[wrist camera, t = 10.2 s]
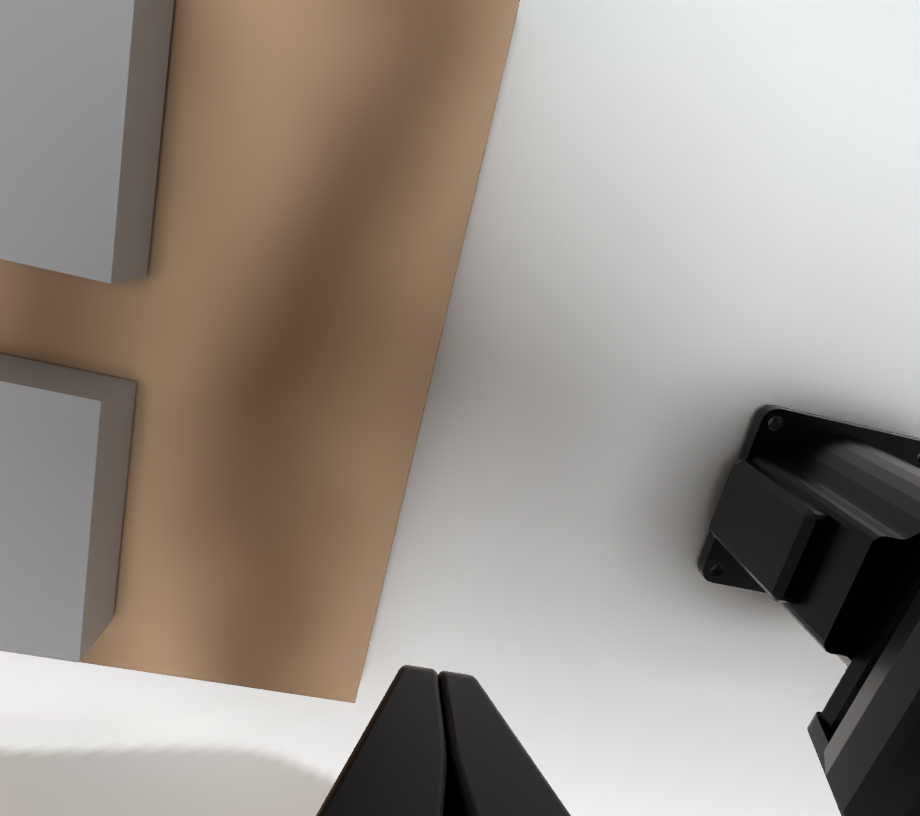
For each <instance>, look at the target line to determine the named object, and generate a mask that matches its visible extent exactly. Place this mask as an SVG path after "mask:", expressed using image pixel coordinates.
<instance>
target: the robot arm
mask: <svg viewBox="0 0 920 816" xmlns="http://www.w3.org/2000/svg"><path fill="white" fill-rule="evenodd" d="M774 416H776V417H777V418H776V422H775V423H774V425H772V426H770V427H768V422H769V420H770V419H771V418H772V417H774ZM919 453H920V439H918V438H914V437H909V436H905V435H901V434H896V433H892V432H888V431H883V430H879V429H875V428H870V427H866V426H862V425H857V424H853V423H849V422H844V421H840V420H836V419H831V418H827V417H823V416H818V415H814V414H810V413H805V412H801V411H797V410H792V409H788V408H784V407H779V406H775V405H768V406H765V407H763V408H762V409H760V410H759V411H758V413H757V414H756V416H755V418H754V421H753V423H752V426H751V428H750V431H749V434H748V436H747V439H746V441H745V444H744V446H743V449H742V451H741V454H740V457H739V459H738V462H737V463H736V464H734V466H733V468H732V471H731V473H730V476H729V478H728V481H727V483H726V486H725V488H724V491H723V494H722V496H721V499H720V501H719V504H718V506H717V509H716V512H715V514H714V517H713V519H712V522H711V524H710V530H711V531H710V533H709V536H708V538H707V541H706V543H705V546H704V549H703V551H702V554H701V556H700V559H699V561H698V569H699V572H700V573H701V574H702V575H703V577H704V578H705V579H706V580H707V581H710V582H712V583H718V584H723V585H728V586H734V587H739V588H744V589H750V590H755V591H760V592H765V593H768V594H769V595H770V597H771V598H772V599H773V600H775V601H778V602H780V603H781V604H782V605H783V606H784V607H785V608H786V610H787V611H788V612H789V613H790V614H791V615H792V616H793V617H794V618H795V619H796V620H797V621H798V622H799V623H800V624H801V625H802V626H803V627H804V628H805V630H806V631H807V632H808V633H809V634H810V635H811V636H812V637H813V638H814V639H815V640H816V641H817V642H818V643H819V644H820V645H821V646H822V647H823V649H824V650H825V651H827V652H829V653H831V654H836V655H837V656H838V657H839V658H840V659H841V660H842V661H843V662H844V663H845V664H846V665H847V666H848V668H847V670H846V671H845V673H844V675H843V676H842V678H841V680H840V682H839V683H838V685H837V687H836V689H835V690H834V692H833V694H832V695H831V697H830V699H829V701H828V702H827V704H826V706H825V708H824V709H823V711H822V712H817V713H816V714H815V716H814V717H813V719H812V721H811V723H810V724H809V726H808V732H809V735H810V737H811V740H812V742H813V745H814V747H815V750H816V752H817V755H818V757H819V760H820V763H821V765H822V768H823V770H824V773H825V775H826V778H827V780H828V783H829V785H830V788H831V790H832V793H833V795H834V798H835V800H836V803H837V805H838V808H839V810H840V813H841V815H842V816H920V457H919V458H917V455H918V454H919ZM714 564H718V566H717V568H716V569H714V570H710V568H711V566H712V565H714ZM316 816H571V815H570V814H569V813H568V811H567V810H566V808H565V807H564V805H563V804H562V802H561V801H560V799H559V798H558V797H557V795H556V794H555V792H554V791H553V789H552V788H551V786H550V785H549V784H548V782H547V781H546V779H545V778H544V776H543V775H542V773H541V772H540V771H539V769H538V768H537V766H536V765H535V763H534V762H533V760H532V759H531V757H530V756H529V755H528V753H527V752H526V750H525V749H524V747H523V746H522V744H521V743H520V742H519V740H518V739H517V737H516V736H515V734H514V733H513V731H512V730H511V729H510V727H509V726H508V724H507V723H506V721H505V720H504V718H503V717H502V716H501V714H500V713H499V711H498V710H497V708H496V707H495V705H494V704H493V702H492V701H491V700H490V698H489V697H488V695H487V694H486V692H485V691H484V689H483V688H482V687H481V685H480V684H479V682H478V681H477V680H476V679H475V678H474V677H473V676H471V675H467V674H461V673H454V672H448V671H442V672H440V673H439V674H438V675H437V673H436V672H435V671H434V670H433V669H429V668H423V667H416V666H410V665H405V666H402V667H401V668H400V669H399V671H398V673H397V675H396V676H395V678H394V680H393V682H392V683H391V685H390V687H389V689H388V690H387V692H386V694H385V696H384V697H383V699H382V701H381V703H380V704H379V706H378V708H377V710H376V711H375V713H374V715H373V717H372V718H371V720H370V722H369V724H368V726H367V727H366V729H365V731H364V733H363V734H362V736H361V738H360V740H359V741H358V743H357V745H356V747H355V748H354V750H353V752H352V754H351V755H350V757H349V759H348V761H347V762H346V764H345V766H344V768H343V769H342V771H341V773H340V775H339V776H338V778H337V780H336V782H335V783H334V785H333V787H332V789H331V790H330V792H329V794H328V796H327V797H326V799H325V801H324V803H323V804H322V806H321V808H320V810H319V812H318V813H317V815H316Z"/></svg>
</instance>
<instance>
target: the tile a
mask: <svg viewBox="0 0 920 816" xmlns="http://www.w3.org/2000/svg"><path fill="white" fill-rule="evenodd" d="M135 390H136V382H135V381H130V380H126V379H121V378H116V377H111V376H106V375H101V374H96V373H92V372H87V371H82V370H77V369H72V368H67V367H63V366H58V365H53V364H48V363H43V362H38V361H33V360H29V359H24V358H19V357H14V356H9V355H4V354H0V651H6V652H12V653H19V654H26V655H33V656H39V657H46V658H53V659H59V660H66V661H73V662H80V661H81V659H82V658H83V657H84V656H85V654H86V653H87V652H88V650H89V649H90V648H91V647H92V645H93V644H94V643H95V641H96V640H97V639H98V638H99V636H100V635H101V634H102V633H103V631H104V630H105V629H106V627H107V626H108V625H109V624H110V622H111V621H112V620H113V612H114V602H115V592H116V582H117V572H118V562H119V552H120V541H121V531H122V521H123V511H124V501H125V491H126V481H127V471H128V461H129V451H130V441H131V431H132V421H133V410H134V400H135Z"/></svg>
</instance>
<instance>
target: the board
mask: <svg viewBox="0 0 920 816" xmlns="http://www.w3.org/2000/svg"><path fill="white" fill-rule="evenodd" d="M519 2H520V0H174V7H173V17H172V27H171V37H170V47H169V57H168V67H167V77H166V87H165V97H164V107H163V118H162V128H161V138H160V148H159V158H158V168H157V178H156V188H155V198H154V208H153V218H152V228H151V239H150V249H149V259H148V269H147V277H143V278H138V279H132V280H127V281H122V282H117V283H112V284H110V283H106V282H101V281H97V280H92V279H88V278H83V277H79V276H75V275H70V274H66V273H61V272H57V271H52V270H48V269H43V268H39V267H34V266H30V265H26V264H21V263H17V262H12V261H8V260H3V259H0V354H4V355H9V356H14V357H19V358H24V359H29V360H33V361H38V362H43V363H48V364H53V365H58V366H63V367H67V368H72V369H77V370H82V371H87V372H92V373H96V374H101V375H106V376H111V377H116V378H121V379H126V380H130V381H135V382H136V390H135V400H134V410H133V421H132V431H131V441H130V451H129V461H128V471H127V481H126V491H125V501H124V511H123V521H122V531H121V541H120V552H119V562H118V572H117V582H116V592H115V602H114V612H113V620H112V621H111V622H110V624H109V625H108V626H107V627H106V629H105V630H104V631H103V633H102V634H101V635H100V636H99V638H98V639H97V640H96V641H95V643H94V644H93V645H92V647H91V648H90V649H89V650H88V652H87V653H86V654H85V656H84V657H83V658H82V659H81V661H80V662H83V663H90V664H97V665H103V666H110V667H117V668H123V669H130V670H137V671H143V672H150V673H157V674H164V675H170V676H177V677H184V678H190V679H197V680H204V681H210V682H217V683H224V684H231V685H237V686H244V687H251V688H257V689H264V690H271V691H277V692H284V693H291V694H298V695H304V696H311V697H318V698H324V699H331V700H338V701H344V702H351V703H355V700H356V696H357V692H358V688H359V683H360V679H361V675H362V671H363V666H364V662H365V658H366V654H367V649H368V645H369V641H370V636H371V632H372V628H373V624H374V619H375V615H376V611H377V607H378V602H379V598H380V594H381V590H382V585H383V581H384V577H385V573H386V568H387V564H388V560H389V556H390V551H391V547H392V543H393V539H394V534H395V530H396V526H397V522H398V517H399V513H400V509H401V504H402V500H403V496H404V492H405V487H406V483H407V479H408V475H409V470H410V466H411V462H412V458H413V453H414V449H415V445H416V441H417V436H418V432H419V428H420V424H421V419H422V415H423V411H424V407H425V402H426V398H427V394H428V390H429V385H430V381H431V377H432V373H433V368H434V364H435V360H436V355H437V351H438V347H439V343H440V338H441V334H442V330H443V326H444V321H445V317H446V313H447V309H448V304H449V300H450V296H451V292H452V287H453V283H454V279H455V275H456V270H457V266H458V262H459V258H460V253H461V249H462V245H463V241H464V236H465V232H466V228H467V223H468V219H469V215H470V211H471V206H472V202H473V198H474V194H475V189H476V185H477V181H478V177H479V172H480V168H481V164H482V160H483V155H484V151H485V147H486V143H487V138H488V134H489V130H490V126H491V121H492V117H493V113H494V109H495V104H496V100H497V96H498V92H499V87H500V83H501V79H502V74H503V70H504V66H505V62H506V57H507V53H508V49H509V45H510V40H511V36H512V32H513V28H514V23H515V19H516V15H517V11H518V6H519Z"/></svg>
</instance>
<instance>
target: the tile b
mask: <svg viewBox="0 0 920 816" xmlns="http://www.w3.org/2000/svg"><path fill="white" fill-rule="evenodd" d="M173 7H174V0H0V259H3V260H8V261H12V262H17V263H21V264H26V265H30V266H34V267H39V268H43V269H48V270H52V271H57V272H61V273H66V274H70V275H75V276H79V277H83V278H88V279H92V280H97V281H101V282H106V283H110V284H112V283H117V282H122V281H127V280H132V279H138V278H143V277H147V269H148V259H149V249H150V239H151V228H152V218H153V208H154V198H155V188H156V178H157V168H158V158H159V148H160V138H161V128H162V118H163V107H164V97H165V87H166V77H167V67H168V57H169V47H170V37H171V27H172V17H173Z"/></svg>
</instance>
